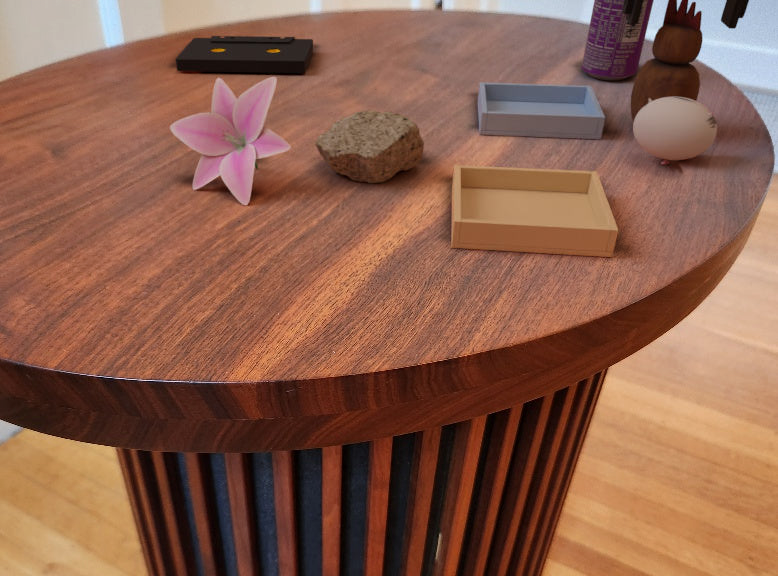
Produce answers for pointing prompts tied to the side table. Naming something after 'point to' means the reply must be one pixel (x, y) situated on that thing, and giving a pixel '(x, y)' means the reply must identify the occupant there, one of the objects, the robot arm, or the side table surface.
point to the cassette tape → (246, 54)
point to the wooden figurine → (671, 59)
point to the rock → (371, 145)
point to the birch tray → (531, 211)
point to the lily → (232, 137)
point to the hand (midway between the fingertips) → (679, 23)
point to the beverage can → (614, 41)
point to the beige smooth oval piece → (674, 128)
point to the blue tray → (539, 110)
